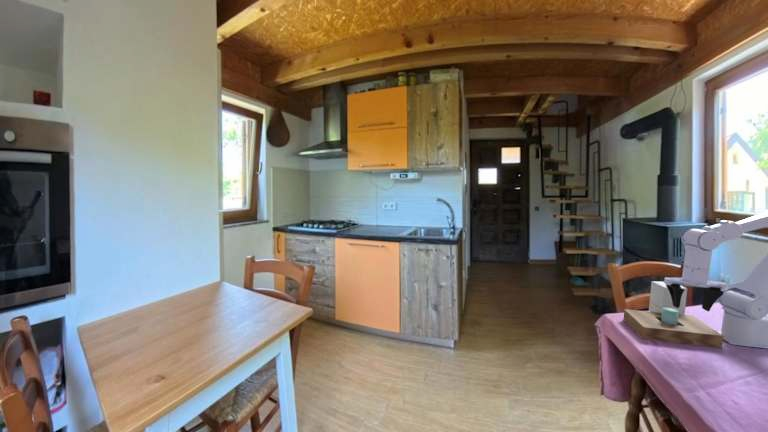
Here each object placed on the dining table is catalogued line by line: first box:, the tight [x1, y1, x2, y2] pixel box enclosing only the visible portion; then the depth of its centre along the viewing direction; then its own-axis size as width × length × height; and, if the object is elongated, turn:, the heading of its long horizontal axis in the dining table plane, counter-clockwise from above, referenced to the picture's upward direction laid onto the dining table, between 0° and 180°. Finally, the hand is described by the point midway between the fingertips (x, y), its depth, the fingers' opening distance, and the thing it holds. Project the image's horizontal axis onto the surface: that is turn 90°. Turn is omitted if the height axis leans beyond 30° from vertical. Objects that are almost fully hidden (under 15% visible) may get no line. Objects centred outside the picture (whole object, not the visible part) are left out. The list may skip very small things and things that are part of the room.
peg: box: [661, 308, 679, 325], centre depth 101 cm, size 4×4×8 cm
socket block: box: [623, 308, 724, 349], centre depth 101 cm, size 20×14×4 cm
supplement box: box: [648, 280, 688, 315], centre depth 112 cm, size 7×7×13 cm
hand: (690, 308), depth 96 cm, fingers open, 7 cm apart
